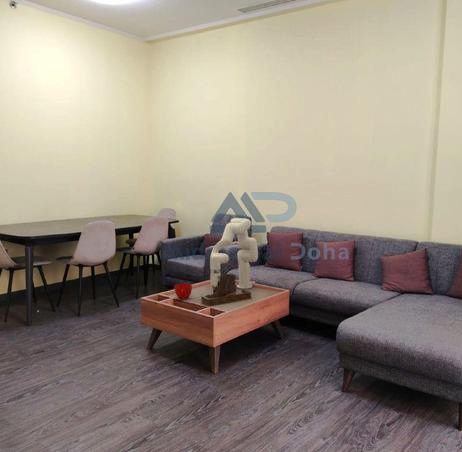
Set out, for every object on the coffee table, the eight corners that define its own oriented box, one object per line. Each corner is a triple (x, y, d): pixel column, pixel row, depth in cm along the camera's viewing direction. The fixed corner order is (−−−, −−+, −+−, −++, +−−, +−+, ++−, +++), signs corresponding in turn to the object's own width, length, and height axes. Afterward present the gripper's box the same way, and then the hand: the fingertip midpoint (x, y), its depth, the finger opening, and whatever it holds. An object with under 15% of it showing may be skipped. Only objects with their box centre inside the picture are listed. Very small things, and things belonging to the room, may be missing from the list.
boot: (204, 299, 341) (203, 273, 339) (235, 298, 345) (235, 272, 343) (204, 303, 333) (204, 276, 330) (237, 301, 337) (237, 274, 334)
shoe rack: (243, 295, 353) (243, 289, 353) (251, 298, 344) (251, 292, 344) (201, 302, 333) (201, 296, 333) (208, 306, 324) (208, 299, 324)
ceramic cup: (173, 302, 335) (173, 289, 334) (175, 296, 351) (175, 283, 350) (191, 302, 336) (191, 288, 335) (192, 295, 352) (192, 283, 351)
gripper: (224, 272, 337) (224, 296, 338) (215, 269, 349) (215, 292, 351) (215, 273, 333) (215, 297, 334) (206, 270, 345) (206, 293, 347)
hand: (215, 295), depth 343 cm, fingers closed
